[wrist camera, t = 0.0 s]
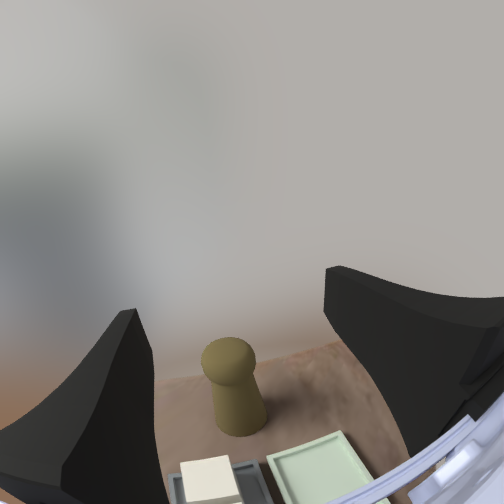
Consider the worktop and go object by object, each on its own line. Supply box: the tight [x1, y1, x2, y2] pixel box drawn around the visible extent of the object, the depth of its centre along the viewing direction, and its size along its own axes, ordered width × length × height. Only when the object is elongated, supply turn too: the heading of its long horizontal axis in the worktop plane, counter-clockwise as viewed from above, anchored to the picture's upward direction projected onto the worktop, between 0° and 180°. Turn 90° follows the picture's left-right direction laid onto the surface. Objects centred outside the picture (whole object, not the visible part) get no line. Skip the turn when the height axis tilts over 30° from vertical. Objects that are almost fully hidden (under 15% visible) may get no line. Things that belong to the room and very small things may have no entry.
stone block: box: [180, 455, 245, 504], centre depth 17 cm, size 4×4×4 cm
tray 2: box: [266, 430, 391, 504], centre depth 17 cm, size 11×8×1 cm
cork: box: [201, 337, 267, 437], centre depth 26 cm, size 6×6×11 cm
